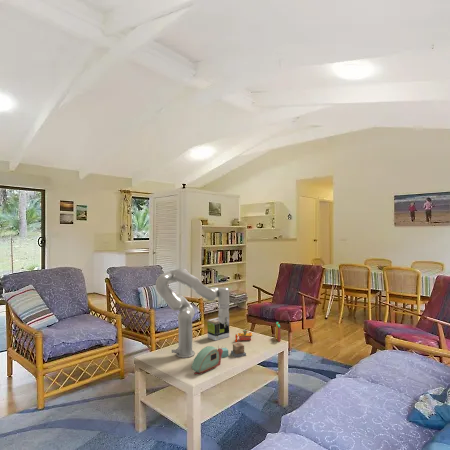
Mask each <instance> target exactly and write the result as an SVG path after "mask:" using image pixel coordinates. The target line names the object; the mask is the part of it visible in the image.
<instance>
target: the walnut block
mask: <svg viewBox="0 0 450 450" xmlns="http://www.w3.org/2000/svg"><path fill="white" fill-rule="evenodd" d="M232 350H233V352H234V353H235V354H240V353H244V352H245V345H244V344H243V343H242V342H235V343H232Z"/></svg>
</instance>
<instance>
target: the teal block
mask: <svg viewBox="0 0 450 450" xmlns="http://www.w3.org/2000/svg"><path fill="white" fill-rule="evenodd" d="M221 348H222V350H223V353H222V355H221V358H226V357H229V349H228V348H227V347H221Z"/></svg>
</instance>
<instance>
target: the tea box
mask: <svg viewBox="0 0 450 450" xmlns="http://www.w3.org/2000/svg"><path fill="white" fill-rule="evenodd" d="M206 322H207V323H206V324H207V338H208V339H210V340H213V341H218V340H223V339H226V338H229V337H230V332H229V333H224V329H220V322H219V320H218V317H214V318H210V319H207V321H206ZM225 323H227V322H225ZM224 327H225V326H224Z"/></svg>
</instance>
